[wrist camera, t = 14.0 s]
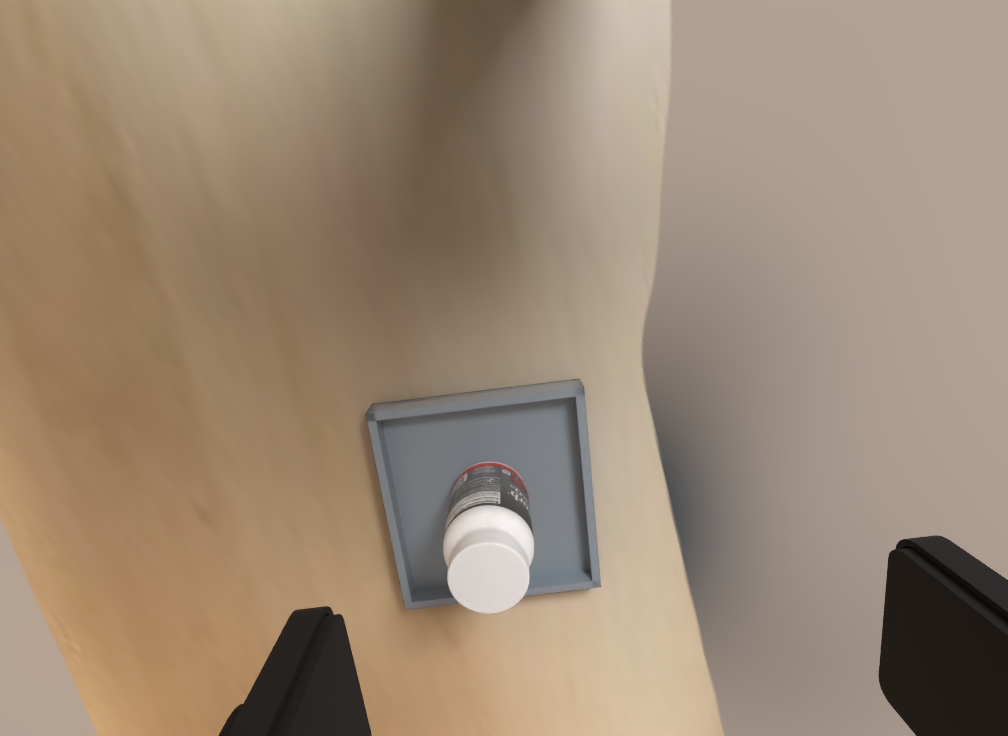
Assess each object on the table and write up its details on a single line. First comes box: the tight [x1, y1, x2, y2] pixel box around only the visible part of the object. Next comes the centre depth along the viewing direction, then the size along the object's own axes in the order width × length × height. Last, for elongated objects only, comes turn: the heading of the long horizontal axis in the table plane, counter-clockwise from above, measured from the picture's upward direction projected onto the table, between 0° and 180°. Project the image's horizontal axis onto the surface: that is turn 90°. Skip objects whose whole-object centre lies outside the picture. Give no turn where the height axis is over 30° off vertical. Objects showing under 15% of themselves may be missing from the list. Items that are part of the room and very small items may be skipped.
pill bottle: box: [443, 461, 534, 613], centre depth 34 cm, size 6×6×10 cm
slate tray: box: [366, 379, 601, 610], centre depth 38 cm, size 16×15×2 cm
